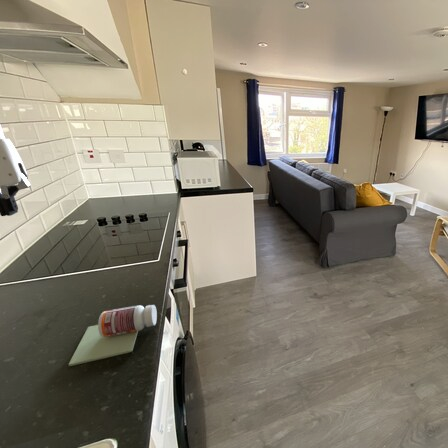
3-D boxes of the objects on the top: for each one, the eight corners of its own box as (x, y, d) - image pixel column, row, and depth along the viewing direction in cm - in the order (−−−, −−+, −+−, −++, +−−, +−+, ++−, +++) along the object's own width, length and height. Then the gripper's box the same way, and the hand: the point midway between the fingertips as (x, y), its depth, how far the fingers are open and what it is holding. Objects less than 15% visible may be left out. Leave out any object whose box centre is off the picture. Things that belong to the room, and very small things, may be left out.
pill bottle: (99, 342, 61) (153, 332, 64) (95, 318, 60) (150, 308, 64) (109, 329, 67) (158, 320, 70) (105, 307, 66) (155, 299, 69)
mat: (69, 366, 57) (68, 364, 56) (88, 328, 67) (88, 326, 67) (132, 351, 61) (131, 349, 60) (141, 318, 71) (141, 316, 71)
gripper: (-91, 132, 49) (-47, 222, 56) (12, 132, 54) (41, 216, 61) (-57, 131, 56) (-21, 212, 62) (32, 131, 61) (56, 207, 67)
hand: (9, 214), depth 62 cm, fingers closed
